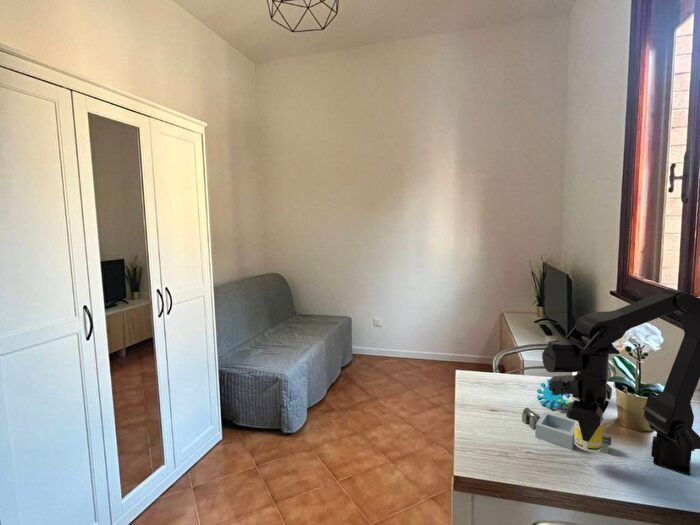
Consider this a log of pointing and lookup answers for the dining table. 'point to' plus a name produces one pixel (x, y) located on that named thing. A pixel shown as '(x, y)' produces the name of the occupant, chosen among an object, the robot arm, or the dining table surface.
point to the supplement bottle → (593, 443)
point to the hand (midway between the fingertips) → (588, 435)
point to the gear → (552, 397)
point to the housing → (556, 430)
